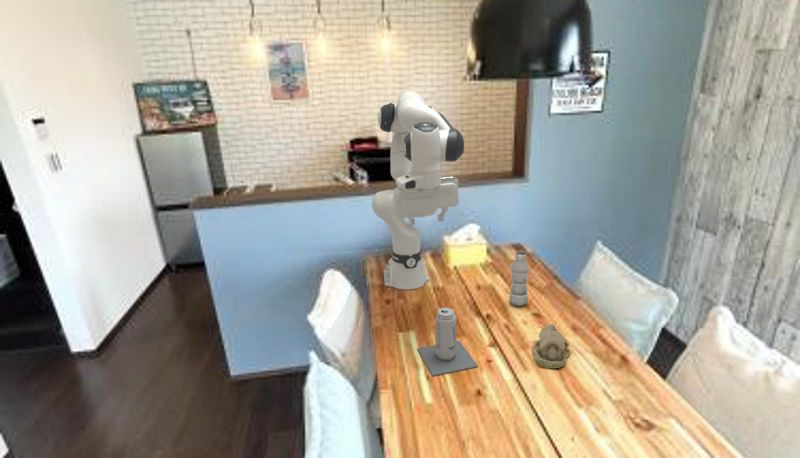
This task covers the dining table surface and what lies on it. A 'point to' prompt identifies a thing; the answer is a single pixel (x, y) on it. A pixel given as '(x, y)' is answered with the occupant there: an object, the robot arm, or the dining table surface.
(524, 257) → the plastic bottle
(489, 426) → the dining table surface
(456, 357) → the mat
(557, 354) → the ceramic model
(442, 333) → the energy drink can
